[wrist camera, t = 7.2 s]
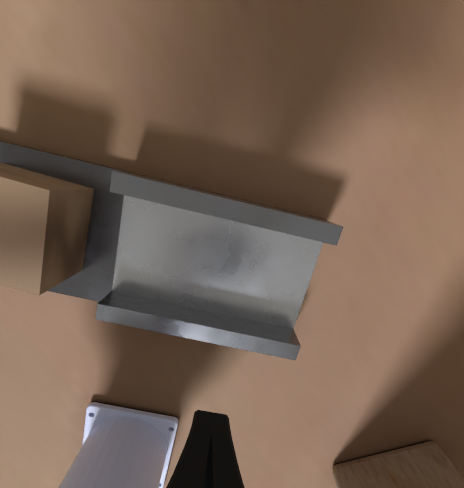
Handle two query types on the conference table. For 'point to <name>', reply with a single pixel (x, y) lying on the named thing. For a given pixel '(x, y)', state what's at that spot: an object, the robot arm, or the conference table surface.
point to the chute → (188, 257)
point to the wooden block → (401, 469)
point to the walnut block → (41, 229)
